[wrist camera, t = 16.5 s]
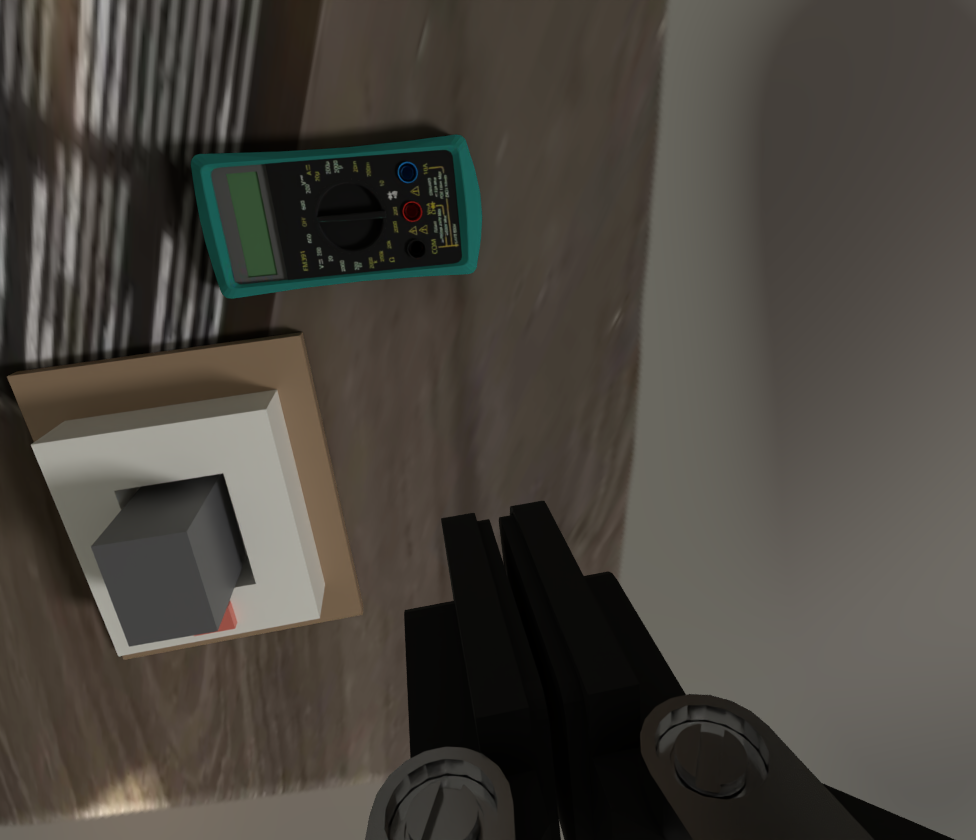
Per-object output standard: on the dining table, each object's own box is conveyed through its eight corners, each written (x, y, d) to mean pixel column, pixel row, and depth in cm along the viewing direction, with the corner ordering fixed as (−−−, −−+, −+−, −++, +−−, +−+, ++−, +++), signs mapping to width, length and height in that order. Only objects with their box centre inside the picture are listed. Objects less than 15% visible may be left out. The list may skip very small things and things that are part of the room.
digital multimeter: (480, 268, 37) (488, 273, 35) (228, 294, 36) (215, 302, 33) (469, 136, 35) (477, 131, 32) (197, 157, 33) (180, 153, 30)
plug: (151, 473, 37) (90, 546, 29) (227, 462, 37) (186, 531, 30) (179, 558, 39) (128, 646, 31) (250, 546, 39) (217, 631, 32)
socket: (16, 371, 35) (-43, 400, 30) (302, 332, 36) (289, 353, 32) (129, 649, 42) (96, 708, 37) (363, 605, 44) (360, 656, 39)
